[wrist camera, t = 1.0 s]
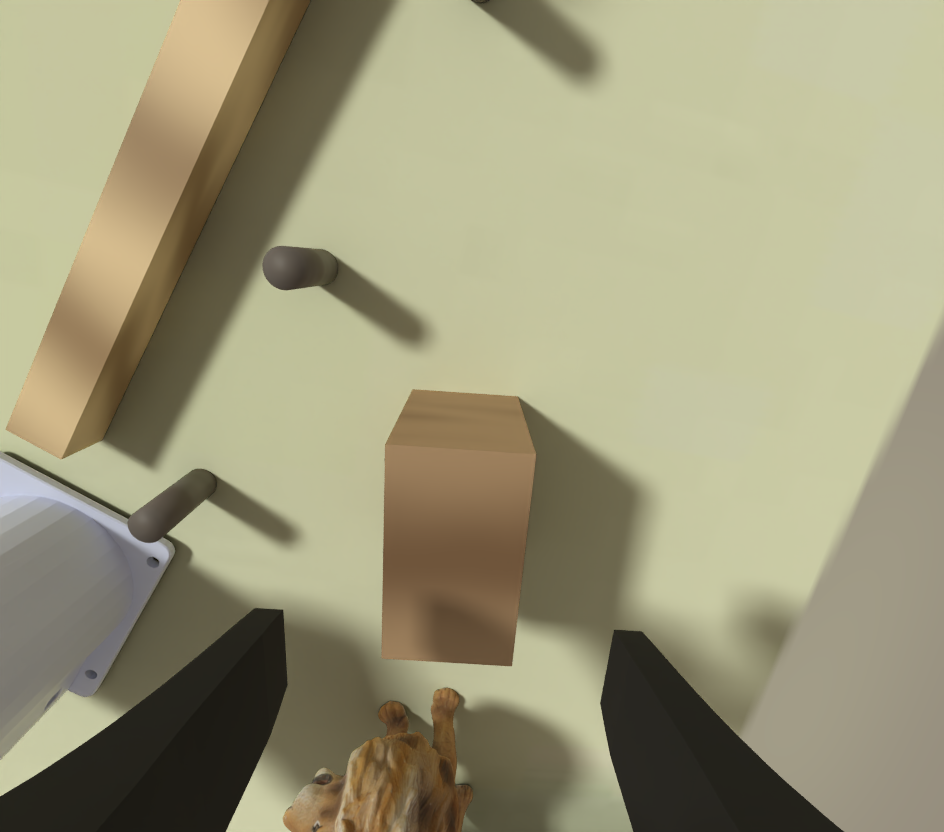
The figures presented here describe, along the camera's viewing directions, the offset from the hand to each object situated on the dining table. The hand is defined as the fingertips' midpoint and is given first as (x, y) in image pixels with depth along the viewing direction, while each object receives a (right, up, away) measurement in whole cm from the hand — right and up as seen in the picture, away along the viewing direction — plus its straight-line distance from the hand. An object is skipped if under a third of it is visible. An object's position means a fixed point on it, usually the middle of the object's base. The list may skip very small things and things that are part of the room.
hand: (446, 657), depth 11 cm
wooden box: (0, +3, +9) cm, 10 cm away
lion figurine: (-2, -11, +14) cm, 18 cm away
